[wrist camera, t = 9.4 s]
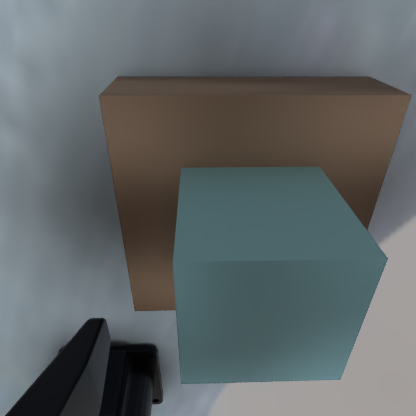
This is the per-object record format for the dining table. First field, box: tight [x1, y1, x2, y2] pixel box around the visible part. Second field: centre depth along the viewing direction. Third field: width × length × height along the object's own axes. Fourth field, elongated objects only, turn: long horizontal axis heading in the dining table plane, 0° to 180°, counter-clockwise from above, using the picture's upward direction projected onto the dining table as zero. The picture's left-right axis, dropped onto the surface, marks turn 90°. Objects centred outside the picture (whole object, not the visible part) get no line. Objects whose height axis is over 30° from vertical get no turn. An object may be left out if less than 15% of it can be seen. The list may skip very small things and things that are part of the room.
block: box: [173, 167, 388, 384], centre depth 11 cm, size 5×5×5 cm
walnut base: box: [99, 77, 411, 311], centre depth 14 cm, size 10×10×3 cm
